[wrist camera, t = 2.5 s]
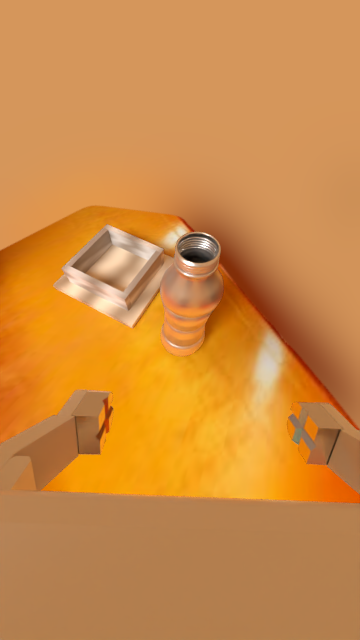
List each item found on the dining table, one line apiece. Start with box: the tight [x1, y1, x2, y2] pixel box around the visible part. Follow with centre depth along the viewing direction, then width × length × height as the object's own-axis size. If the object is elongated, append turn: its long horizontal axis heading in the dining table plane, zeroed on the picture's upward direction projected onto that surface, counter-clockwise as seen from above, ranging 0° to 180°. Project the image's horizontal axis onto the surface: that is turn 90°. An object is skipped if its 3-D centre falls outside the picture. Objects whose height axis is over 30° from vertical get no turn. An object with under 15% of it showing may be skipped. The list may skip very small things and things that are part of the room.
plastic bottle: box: [160, 232, 224, 356], centre depth 26 cm, size 6×7×20 cm
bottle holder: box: [53, 225, 174, 328], centre depth 38 cm, size 16×16×4 cm
